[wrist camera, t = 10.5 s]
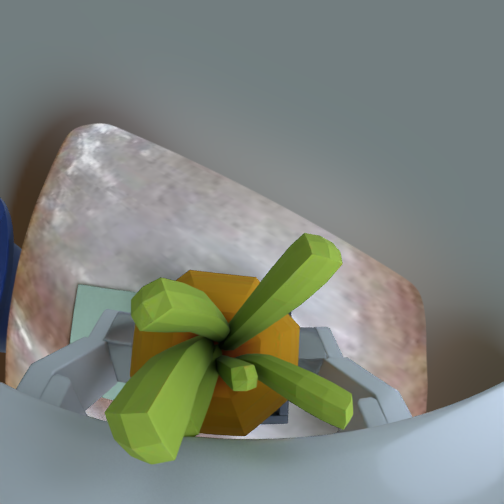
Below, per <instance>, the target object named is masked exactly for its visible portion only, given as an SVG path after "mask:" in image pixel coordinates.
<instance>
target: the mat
mask: <svg viewBox="0 0 504 504" xmlns="http://www.w3.org/2000/svg"><path fill="white" fill-rule="evenodd" d="M136 294H137V292H129V291H122V290H114V289H107V288H100V287H93V286H87V285H80V284H79V285H78V290H77V296H76V302H75V308H74V314H73V322H72V329H71V338H70V344H71V343H73V342H75V341H77V340H79V339H81V338H83V337H88V336H89V335H90V333H91V331H92V329H93V328H94V326H95V324H96V323H97V321H98V319H99V318H100V316H101V315H102V313H103V311H104V310H106V309H111V310H117V311H123V312H129V313H131V299H132V298H133V297H134V296H135V295H136ZM125 384H126V383H123V382H118V383H117V384H116V385H115V386H113V387H112V388H111V389H110V390H109V391H108V392H106V393H105V394H104V395H103V396H102V397H103V398H107V399H111V400H114V399H115V397H116V396H117V395H118V393H119V392H120V391H121V389H122V388H123V387H124V385H125Z"/></svg>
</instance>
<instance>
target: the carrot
mask: <svg viewBox="0 0 504 504" xmlns="http://www.w3.org/2000/svg"><path fill="white" fill-rule="evenodd" d="M342 264H343V263H342V258H341V253H340V251H339V250H338V249H337V248H336V246H335V245H334V244H333V243H332V242H330V241H328V240H326V239H325V238H323V237H321V236H318V235H312V234H307V233H304V234H303V235H302V236H301V237H300V238H299V239H297V240H296V241H295V242H294V243H293V244H292V245H291V246H290V247H289V248H288V249H287V250H286V252H285V253H284V254H283V255H282V256H281V257H280V259H279V260H278V261H277V262H276V263H275V265H274V266H273V267H272V268H271V269H270V271H269V272H268V273H267V274H266V276H265V277H264V278H263V280H262V281H261V282H260V281H259V280H258V279H257V278H256V277H249V276H239V275H230V274H221V273H212V272H203V271H194V270H189V271H188V272H186V273H185V274H184V275H182V276H181V277H180V278H178V279H177V280H176V281H174V280H169V279H165V278H159V279H157V280H155V281H153V282H151V283H149V284H147V285H145V286H143V287H142V288H141V289H140V290H139V291H138V292H137V294H136V295H135V296H134V297H133V298H132V299H131V317H132V319H133V320H134V322H135V330H134V338H133V347H132V356H131V367H130V377H131V378H130V379H129V380H128V381H127V383H126V384H125V385H124V387H123V388H122V389H121V391H120V392H119V393H118V395H117V396H116V397H115V399H114V400H113V402H112V403H111V404H110V406H109V407H108V408H107V410H106V411H105V415H106V418H107V421H108V424H109V427H110V430H111V433H112V435H113V438H114V440H115V441H116V442H117V443H118V444H119V445H120V446H121V447H122V448H123V449H124V450H125V451H126V452H127V453H128V454H129V455H130V456H131V457H134V458H136V459H138V460H141V461H143V462H146V463H149V464H151V465H152V464H158V463H163V462H169V461H174V460H175V459H176V456H177V453H178V451H179V448H180V445H181V442H182V439H183V437H194V436H196V435H198V434H199V433H204V434H215V435H229V436H246V435H247V434H249V433H250V432H251V431H252V430H254V429H255V428H256V427H257V426H258V425H260V424H261V423H262V422H263V421H264V420H266V419H267V418H268V417H269V416H270V415H272V414H273V413H274V412H275V411H276V410H277V409H278V408H280V407H281V406H282V405H283V404H284V403H285V402H286V401H287V400H289V401H290V402H292V403H293V404H295V405H296V406H298V407H299V408H301V409H303V410H305V411H306V412H308V413H310V414H311V415H313V416H315V417H317V418H319V419H320V420H322V421H324V422H326V423H329V424H331V425H333V426H335V427H338V428H340V429H343V430H344V429H345V427H346V426H347V424H348V423H349V421H350V419H351V418H352V416H353V400H352V393H350V392H348V391H346V390H345V389H343V388H341V387H340V386H338V385H337V384H335V383H333V382H331V381H329V380H327V379H325V378H323V377H321V376H319V375H317V374H315V373H313V372H310V371H308V370H306V369H303V368H301V367H299V366H298V356H299V331H300V326H299V325H298V324H297V323H296V322H295V321H294V320H293V319H292V317H291V316H290V315H289V314H288V313H290V312H291V311H293V310H294V309H295V308H297V307H298V306H300V305H301V304H302V303H303V302H305V301H306V300H307V299H308V298H309V297H310V296H312V295H313V294H314V293H315V292H316V291H317V290H319V289H320V288H321V287H322V286H323V285H324V284H325V283H326V282H327V281H328V280H329V279H330V278H331V277H332V276H333V274H334V273H335V272H336V271H337V270H338V269H339V267H340V266H341V265H342Z"/></svg>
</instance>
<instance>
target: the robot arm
mask: <svg viewBox="0 0 504 504" xmlns="http://www.w3.org/2000/svg"><path fill="white" fill-rule="evenodd" d="M134 330H135V322H134V320H133V319H132V317H131V313H129V312H123V311H117V310H111V309H106V310H104V311H103V313H102V315H101V316H100V318H99V319H98V321H97V323H96V324H95V326H94V328H93V329H92V331H91V333H90V335H89V336H88V337H83V338H81V339H79V340H77V341H75V342H73V343H71V344H69V345H67V346H65V347H63V348H61V349H59V350H58V351H56V352H54V353H52V354H50V355H48V356H46V357H44V358H42V359H40V360H38V361H36V362H34V363H32V364H31V366H30V367H29V369H28V370H27V372H26V374H25V375H24V377H23V378H22V380H21V382H20V383H19V385H18V387H17V388H16V389H14V388H12V387H10V386H8V385H6V384H4V383H2V382H0V504H504V382H502V383H500V384H498V385H496V386H494V387H492V388H490V389H488V390H486V391H483V392H481V393H479V394H477V395H474V396H472V397H469V398H467V399H465V400H462V401H460V402H457V403H454V404H452V405H449V406H446V407H443V408H441V409H437V410H435V411H432V412H428V413H425V414H422V415H418V416H415V417H412V415H411V414H410V412H409V410H408V408H407V406H406V404H405V402H404V400H403V399H402V397H401V395H400V393H399V391H397V390H396V389H394V388H392V387H391V386H389V385H388V384H386V383H385V382H383V381H382V380H380V379H379V378H377V377H376V376H374V375H373V374H371V373H370V372H368V371H367V370H365V369H364V368H362V367H361V366H359V365H358V364H356V363H355V362H353V361H352V360H350V359H349V358H344V357H343V355H342V353H341V351H340V349H339V347H338V345H337V343H336V340H335V338H334V336H333V334H332V332H331V330H330V328H328V327H314V328H301V327H300V331H299V356H298V366H299V367H301V368H303V369H306V370H308V371H310V372H313V373H315V374H317V375H319V376H321V377H323V378H325V379H327V380H329V381H331V382H333V383H335V384H337V385H338V386H340V387H341V388H343V389H345V390H346V391H348V392H350V393H352V400H353V416H352V418H351V419H350V421H349V423H348V424H347V426H346V427H345V429H344V430H343V429H339V431H338V432H337V433H334V434H327V435H318V436H308V437H297V438H280V439H223V438H207V437H195V436H194V437H183V439H182V442H181V445H180V448H179V451H178V453H177V456H176V459H175V460H174V461H169V462H163V463H158V464H152V465H151V464H149V463H146V462H143V461H141V460H138V459H136V458H134V457H131V456H130V455H129V454H128V453H127V452H126V451H125V450H124V449H123V448H122V447H121V446H120V445H119V444H118V443H117V442H116V441H115V440H114V438H113V435H112V433H111V430H110V427H109V424H108V422H107V421H103V420H99V419H96V418H92V417H89V416H87V414H86V412H85V410H87V409H88V408H89V407H90V406H91V405H92V404H94V403H95V402H96V401H97V400H98V399H99V398H101V397H102V396H103V395H104V394H105V393H106V392H108V391H109V390H110V389H111V388H112V387H113V386H115V385H116V384H117V383H118V382H123V383H127V381H128V380H129V379H130V378H131V377H130V367H131V356H132V347H133V338H134Z"/></svg>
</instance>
